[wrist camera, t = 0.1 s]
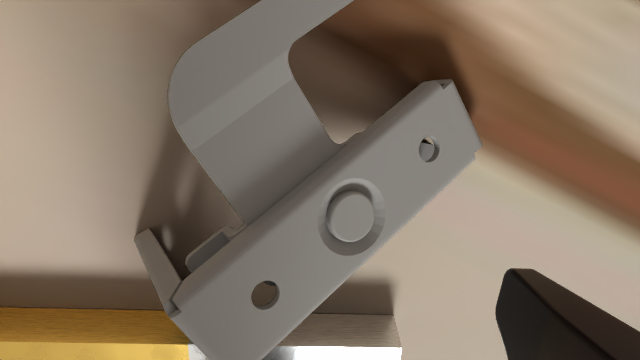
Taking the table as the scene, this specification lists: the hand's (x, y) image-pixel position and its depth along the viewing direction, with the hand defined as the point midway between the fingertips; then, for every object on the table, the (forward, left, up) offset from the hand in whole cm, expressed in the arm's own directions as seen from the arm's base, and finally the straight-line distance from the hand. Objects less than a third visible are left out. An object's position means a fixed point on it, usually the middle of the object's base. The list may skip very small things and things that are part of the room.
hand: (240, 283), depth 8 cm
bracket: (-3, +1, -15) cm, 15 cm away
